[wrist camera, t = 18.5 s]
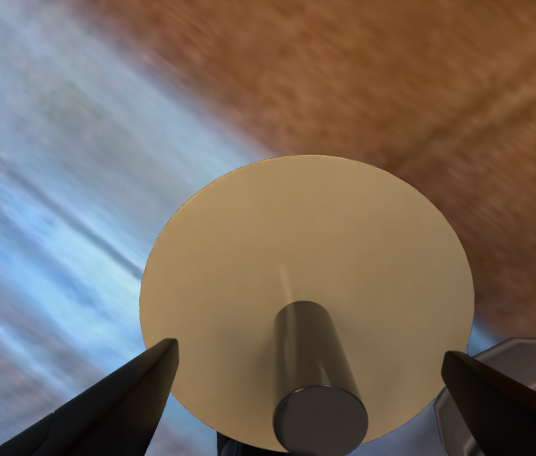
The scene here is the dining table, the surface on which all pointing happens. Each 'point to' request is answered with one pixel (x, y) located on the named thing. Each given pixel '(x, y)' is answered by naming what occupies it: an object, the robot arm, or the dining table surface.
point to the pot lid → (308, 303)
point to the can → (503, 360)
